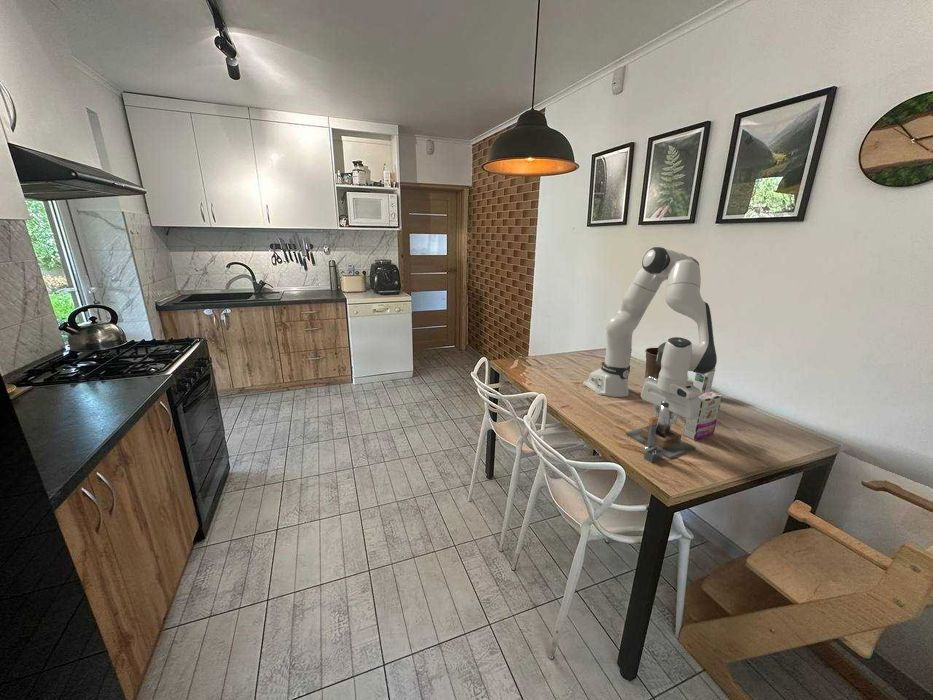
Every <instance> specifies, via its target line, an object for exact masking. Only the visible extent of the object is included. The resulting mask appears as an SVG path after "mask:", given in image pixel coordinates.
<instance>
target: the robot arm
mask: <svg viewBox="0 0 933 700" xmlns="http://www.w3.org/2000/svg"><path fill="white" fill-rule="evenodd" d="M641 260H642V261H641V268H640V269H639V270H638V272H637V273H636V274H635V276H634V278H633V279H632V281H631V283H630V284H629V286H628V289H627V290H626V291H625V294H624V295H623V297H622V300H621V303H620V305H619V307H618V309H617V311H616V313H615V314H614V315H613V316H612V317H611V318H610V319H608V321H607V324H606V328H605V329H606V350H605V358H604V361H602V362H600V364H599V365H600V366H601V367H599V368H598V369H596V370H594V371H592V372H591V373H589V375H588V378H587V379H586V380H584V381H583V383H582V384H583V386H586V387H587V388H589V389H590V390H591V391H593V392H594V393H596V394H597V395H599V396H609V397H612V398H613V397H615V398H624V397H627V396H629V395H630V391H629V375H630V371H631V358H632V351H633V348H632V343H633V335H634V334H633V333H634V331H635V330H636V329H637V327H638V325H639V324H640V322H641V320H642V319H643V318H644V317H643V316H644V315H645V313H646V311H647V310H648V307H649V306H650V304H651V302H652V301H653V299H654V297H655V296H656V294H657V293H658V290H659V288H660V287H661V285H662V284H663V282H665V281H667V282H666V288H665V303H666V305H667V306H668V307H669V308H671V310H672V311H674V312H675V313H679V314H681V315H683V316H685V317H688V318H690V319H692V321H693V322H695V323H696V325H697V330H698V339H699V344H693V343H692V341H690V339H688V338H684V337H679V336H678V337H677V336H675V337H673V336H672V337H670V338H668V339H667V340H666V341H665V342H662V343H661V344H660V345H658V347H657V348H658V355H657V359H656V362H657V363H658V364H659V365H660V366H661V371H660V372H659V377H658V379H656V378H653V377H650V376H649V377H646V378H645V377H644V382H643V386H642V389H641V393H640V398H641V399H642V400H643V401H644V402H645V401H646V402H648V403H650V404H653V405H652V407H653V411H654V417H656V418H658V417H659V411H660V407H661V402H662V401H663V402H666V403H668V404H669V406H668V411H671V412H673V416H674V417H673V418H670V421H669V422H670V423H671V425H675V424H677V422H678V421H677V420H678V419H679V418H681V417H682V418H684V419H686V418H687V419H689V420H692V419H695V418H697V417H698V416H699V412H700V399H699V398H698V396H700V395H701V391H700V390H699V389H698V388H696V387H695V386H694V385H693V384H692V383H691V382H690V381H689V379H688V378H689V374H688V373H689V372H693V373H701V374H706V373H708V372H710V371H712V370H713V369H714V368H716V366H717V362H718V356H717V352H716V351H717V350H716V346H715V339H714V331H713V330H714V329H713V321H712V315H711V313H712V311H711V308H710V305H709V303H708V302H706V301H704V299H703V298H702V296H701V283H702V281H701V280H702V278H701V276H702V275H701V268H700V263H699V261H698V260H697V259H695V258H694V257H692V256H689V255H687V254H684V253H682V252H681V251H677V250H676V251H675V250H671V249H667V248H665V247H662V246H661V247H659V246H654V247H652V248H649V250H647V251H646V252H645V254H644V255H643V257H642V259H641Z"/></svg>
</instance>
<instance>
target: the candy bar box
mask: <svg viewBox="0 0 933 700" xmlns="http://www.w3.org/2000/svg"><path fill="white" fill-rule="evenodd" d="M698 398H699V399H700V412H699V416H698V417H697V418H695V419H692V420H689V419H687V418H685V422H684V423H685V424H684V429H683V434H682V435H683V436H685V437H687V438H689V439H691V440H692V441H698V440H701V439H705V438H707V437H711V436H713V435H714V434H715V430H716V425H717V420H718V416H719V411H720V407H721V402H722V398H723V395H721V394H719V393H715V392H713V391H711V390H710V391H709V392H705V393H701V395H700V396H698Z"/></svg>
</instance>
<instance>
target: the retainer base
mask: <svg viewBox="0 0 933 700" xmlns="http://www.w3.org/2000/svg"><path fill="white" fill-rule="evenodd" d="M642 451H643V453H644V456H643V459H644V460H646V461H648V462H649V463H651V464H653V463H655V462H659V461H661V460H662V459H663V451H661V450H660V449H658V448H657V446H656V445H654V446H651V447H647V446H646V447H644V448H643V449H642Z"/></svg>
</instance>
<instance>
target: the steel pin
mask: <svg viewBox="0 0 933 700" xmlns="http://www.w3.org/2000/svg"><path fill="white" fill-rule="evenodd" d="M668 406H669V404H668V403H666V402H663V401H662V402H661V407H659V409H660V411H659V417H657V418H658V422H657V428H656V431H657V432H658V433H660V434H665V435H668V434H670V430H672V424H671V423H670V422H669V421H670V418H674V417H673V416H674V413H673V412H671V411H668Z"/></svg>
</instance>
